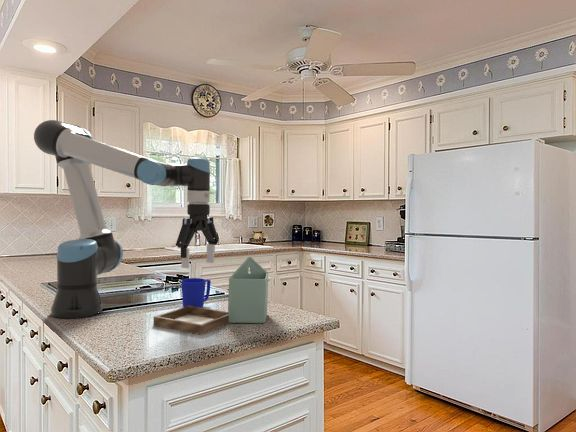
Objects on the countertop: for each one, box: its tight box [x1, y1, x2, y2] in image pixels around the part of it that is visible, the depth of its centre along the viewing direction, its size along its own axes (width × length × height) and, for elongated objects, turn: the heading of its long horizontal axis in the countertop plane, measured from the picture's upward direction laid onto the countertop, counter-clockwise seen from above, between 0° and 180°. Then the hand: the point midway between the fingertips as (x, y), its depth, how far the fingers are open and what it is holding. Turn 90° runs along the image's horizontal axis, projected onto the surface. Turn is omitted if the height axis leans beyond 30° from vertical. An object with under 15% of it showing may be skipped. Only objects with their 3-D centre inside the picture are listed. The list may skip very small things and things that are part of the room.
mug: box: [180, 277, 212, 308], centre depth 152 cm, size 8×12×10 cm
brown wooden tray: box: [152, 306, 230, 335], centre depth 134 cm, size 18×16×3 cm
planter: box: [227, 255, 269, 324], centre depth 138 cm, size 16×8×20 cm, turn 137°
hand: (198, 265), depth 152 cm, fingers open, 13 cm apart
